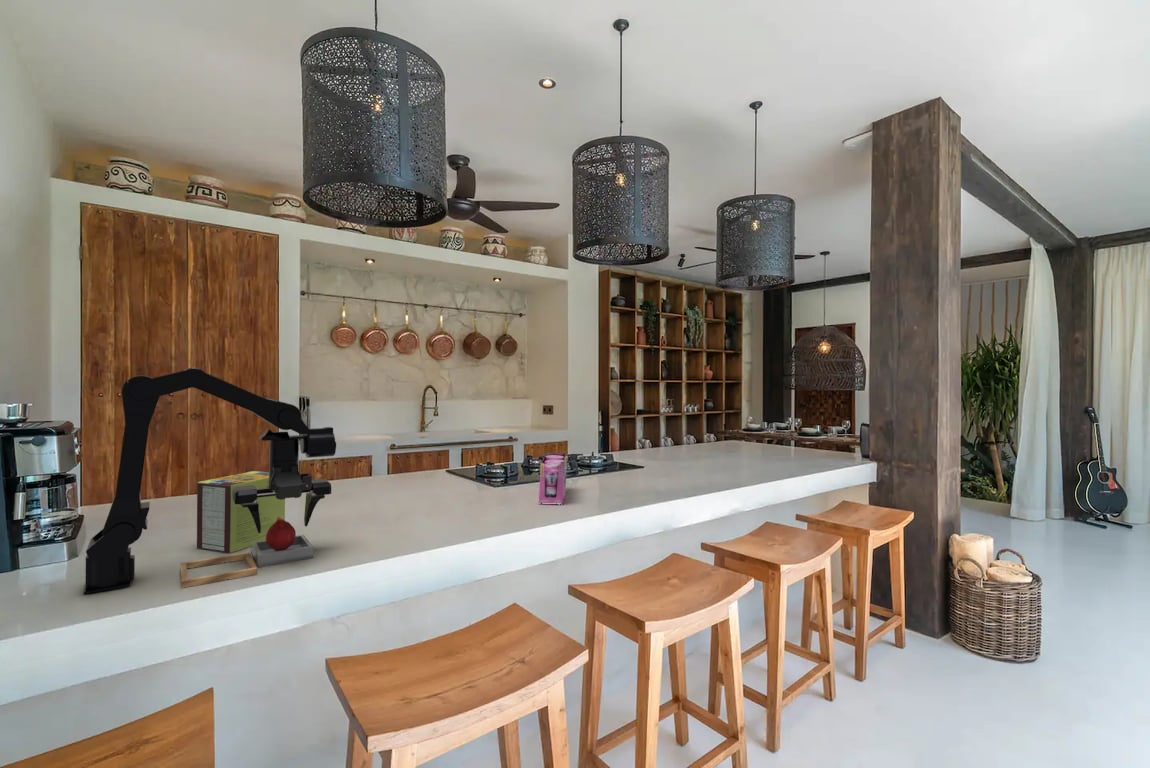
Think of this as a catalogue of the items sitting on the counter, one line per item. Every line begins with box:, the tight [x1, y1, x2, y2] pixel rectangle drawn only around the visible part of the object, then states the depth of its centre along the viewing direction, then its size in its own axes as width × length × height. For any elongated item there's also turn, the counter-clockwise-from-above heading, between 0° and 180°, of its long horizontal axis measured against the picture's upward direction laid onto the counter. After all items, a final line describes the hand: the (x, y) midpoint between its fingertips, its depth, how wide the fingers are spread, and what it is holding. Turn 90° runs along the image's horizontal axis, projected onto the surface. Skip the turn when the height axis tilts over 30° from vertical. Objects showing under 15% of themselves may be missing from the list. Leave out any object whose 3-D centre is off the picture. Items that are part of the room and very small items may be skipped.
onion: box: [266, 517, 297, 551], centre depth 117 cm, size 6×6×8 cm
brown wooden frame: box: [180, 551, 258, 589], centre depth 107 cm, size 12×12×1 cm
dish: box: [251, 534, 314, 568], centre depth 117 cm, size 11×11×2 cm
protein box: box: [196, 470, 286, 554], centre depth 127 cm, size 10×15×16 cm
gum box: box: [538, 452, 567, 505], centre depth 180 cm, size 24×8×14 cm, turn 178°
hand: (283, 529), depth 117 cm, fingers open, 9 cm apart
